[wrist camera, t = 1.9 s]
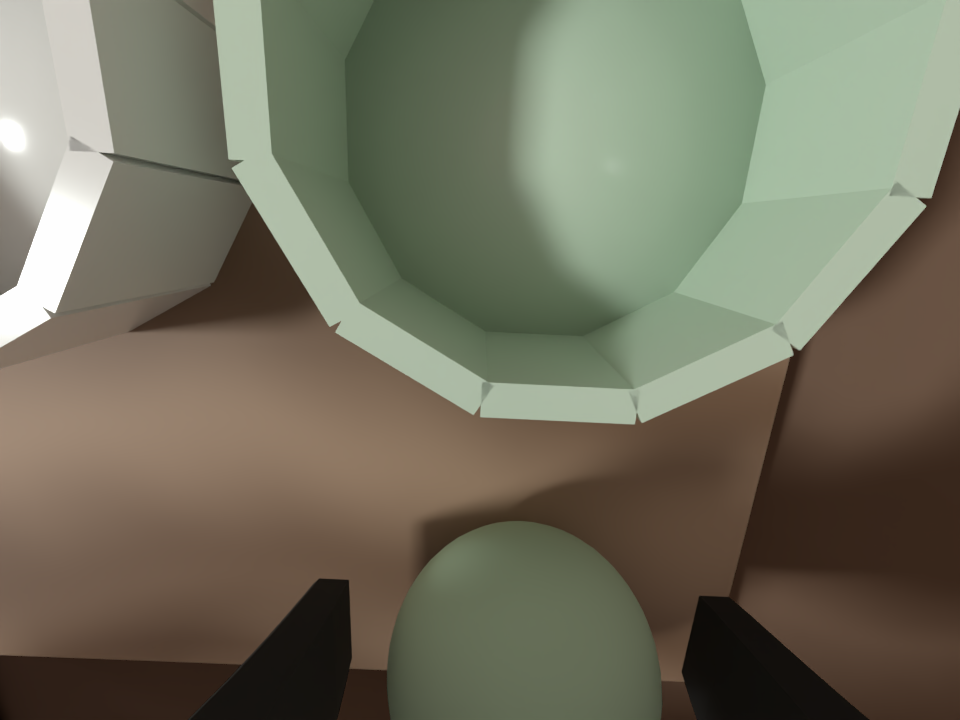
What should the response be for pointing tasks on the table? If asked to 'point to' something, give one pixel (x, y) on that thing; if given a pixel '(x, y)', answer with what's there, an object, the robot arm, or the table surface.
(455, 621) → the ball
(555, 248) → the cup green
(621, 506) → the board
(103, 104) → the cup grey
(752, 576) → the table surface
